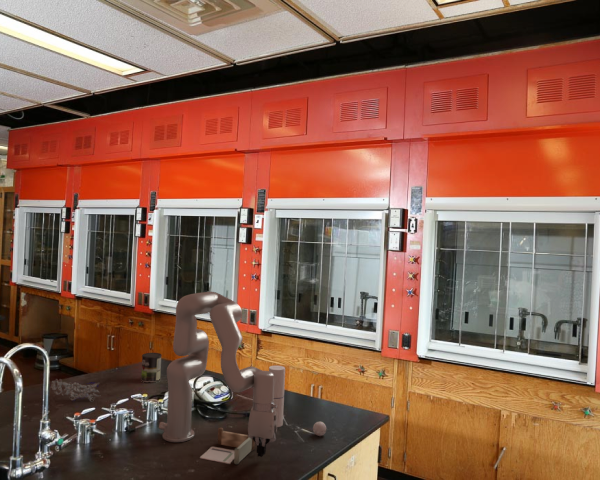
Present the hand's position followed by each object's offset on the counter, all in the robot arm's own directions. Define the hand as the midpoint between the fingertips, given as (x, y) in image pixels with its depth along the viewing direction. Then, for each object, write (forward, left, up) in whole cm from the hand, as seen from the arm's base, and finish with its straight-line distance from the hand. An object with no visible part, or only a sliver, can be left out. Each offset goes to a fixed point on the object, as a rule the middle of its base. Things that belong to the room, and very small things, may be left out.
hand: (261, 455), depth 179 cm
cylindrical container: (-7, +35, -3) cm, 36 cm away
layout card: (-16, -1, -2) cm, 16 cm away
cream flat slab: (-7, 0, -2) cm, 8 cm away
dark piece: (-104, +25, -3) cm, 107 cm away
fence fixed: (-14, +8, -2) cm, 16 cm away
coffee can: (-90, +66, -3) cm, 112 cm away
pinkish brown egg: (+15, +32, -3) cm, 36 cm away
